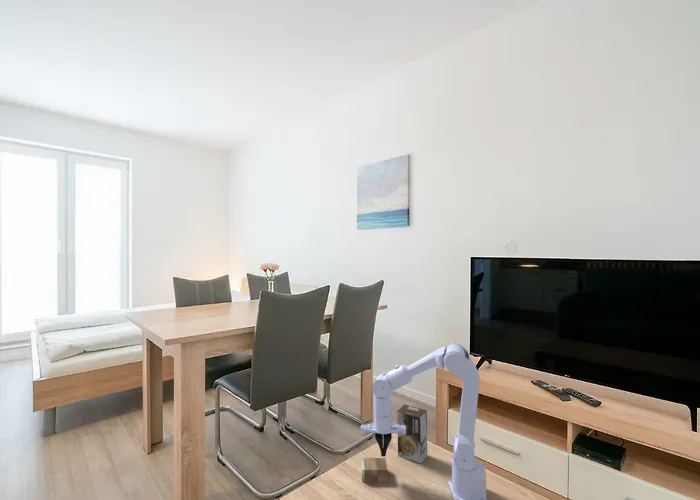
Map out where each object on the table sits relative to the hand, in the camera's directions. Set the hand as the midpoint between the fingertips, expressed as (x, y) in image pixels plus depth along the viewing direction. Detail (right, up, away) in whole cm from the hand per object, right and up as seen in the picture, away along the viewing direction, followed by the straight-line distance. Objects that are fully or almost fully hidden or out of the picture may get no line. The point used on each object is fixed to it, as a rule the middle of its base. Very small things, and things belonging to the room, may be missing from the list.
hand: (383, 454), depth 111 cm
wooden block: (+1, -5, 0) cm, 5 cm away
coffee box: (+11, -7, +11) cm, 17 cm away
